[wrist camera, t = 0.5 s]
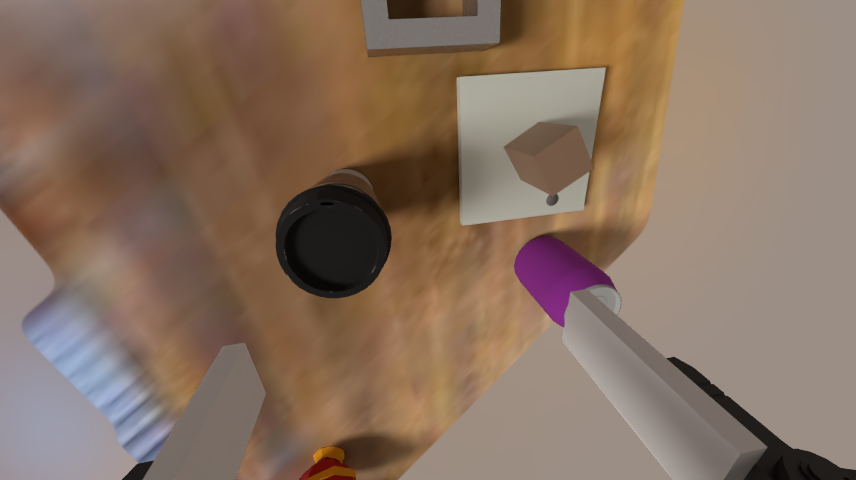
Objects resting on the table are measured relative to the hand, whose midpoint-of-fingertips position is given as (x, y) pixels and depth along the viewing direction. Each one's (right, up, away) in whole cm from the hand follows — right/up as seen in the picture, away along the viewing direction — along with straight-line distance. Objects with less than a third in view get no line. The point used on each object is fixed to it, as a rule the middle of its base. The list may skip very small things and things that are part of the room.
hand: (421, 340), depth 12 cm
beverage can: (+16, +2, +30) cm, 34 cm away
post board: (+12, +15, +23) cm, 30 cm away
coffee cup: (-9, +9, +22) cm, 25 cm away
